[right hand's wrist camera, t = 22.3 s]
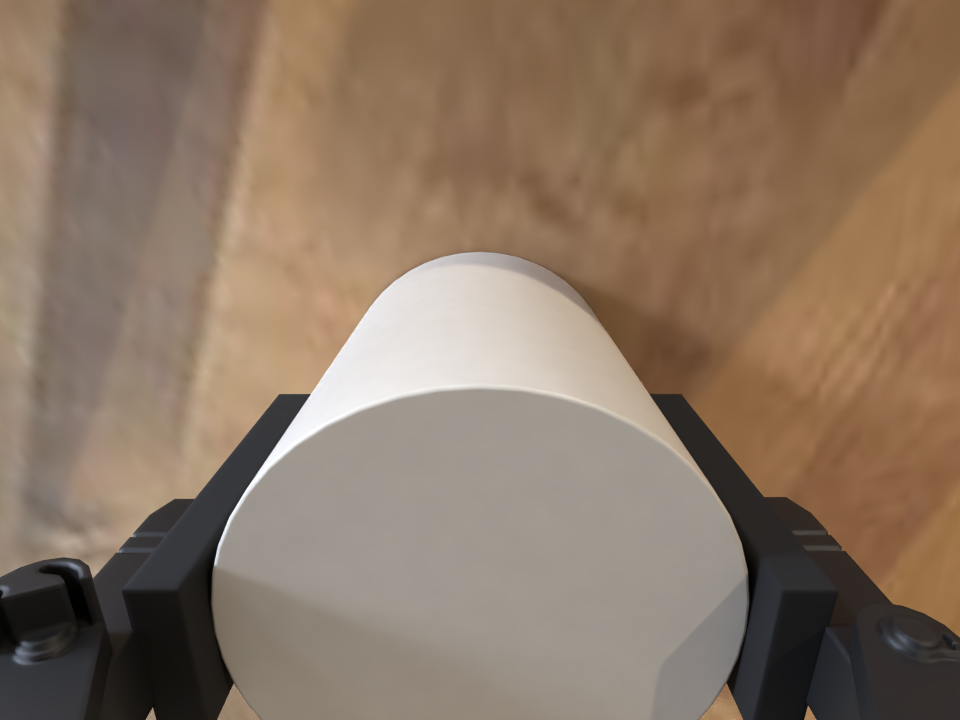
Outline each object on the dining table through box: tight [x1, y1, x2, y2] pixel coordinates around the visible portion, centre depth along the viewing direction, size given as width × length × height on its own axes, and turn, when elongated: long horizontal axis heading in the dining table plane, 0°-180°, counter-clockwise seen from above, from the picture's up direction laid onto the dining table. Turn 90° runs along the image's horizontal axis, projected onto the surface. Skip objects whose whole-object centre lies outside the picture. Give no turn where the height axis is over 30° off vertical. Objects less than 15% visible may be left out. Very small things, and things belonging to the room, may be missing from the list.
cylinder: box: [211, 252, 749, 720], centre depth 13 cm, size 8×8×10 cm
